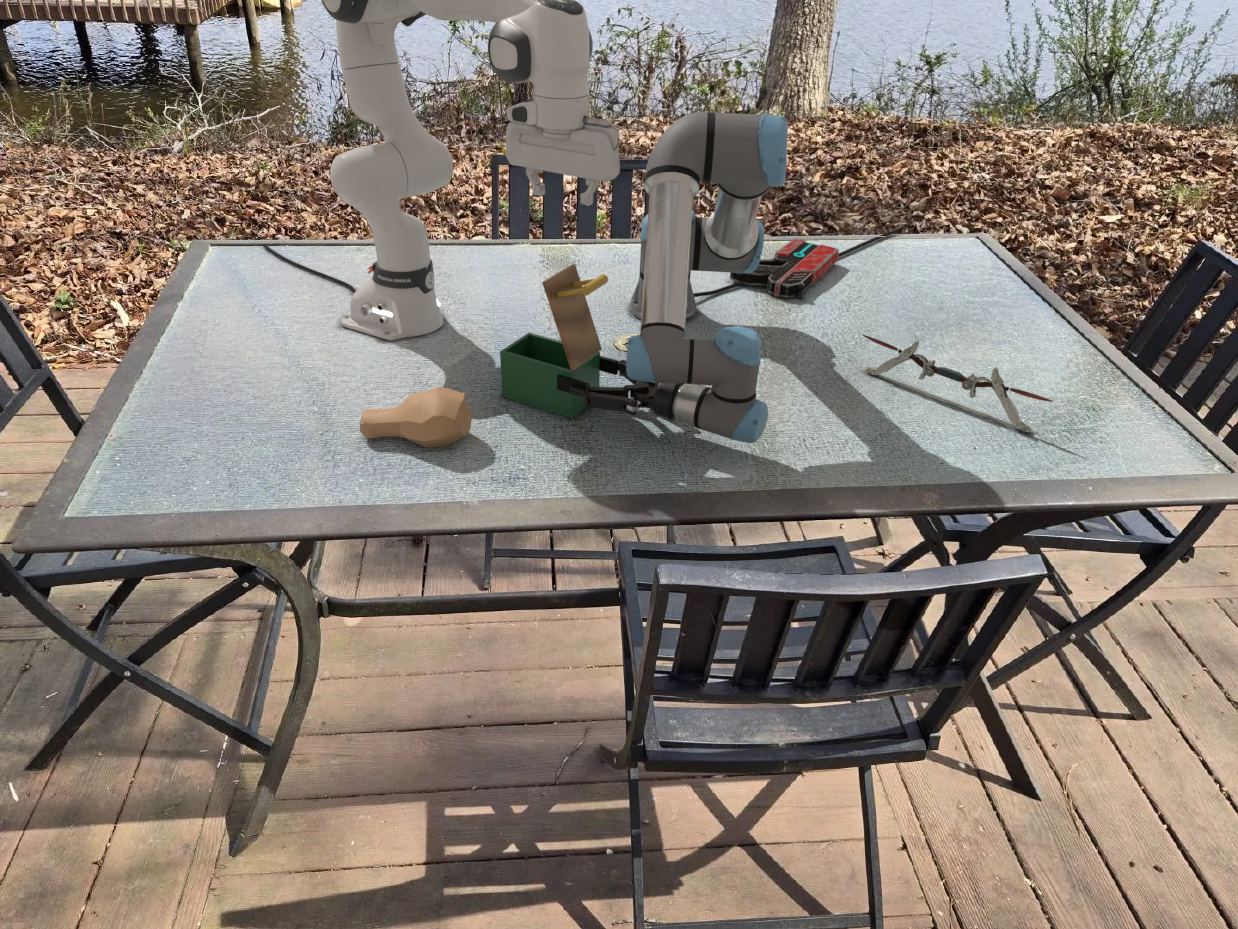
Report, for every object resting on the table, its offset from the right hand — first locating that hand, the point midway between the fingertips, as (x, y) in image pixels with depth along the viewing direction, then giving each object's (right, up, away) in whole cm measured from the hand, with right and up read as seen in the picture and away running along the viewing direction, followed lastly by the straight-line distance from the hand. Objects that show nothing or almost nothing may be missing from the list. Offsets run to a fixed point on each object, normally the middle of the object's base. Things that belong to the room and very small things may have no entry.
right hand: (573, 370), depth 164 cm
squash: (-27, -13, -8) cm, 31 cm away
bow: (+72, -5, +8) cm, 73 cm away
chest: (-5, -4, +6) cm, 9 cm away
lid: (0, +9, -6) cm, 11 cm away
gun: (+52, +31, +62) cm, 86 cm away
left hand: (-1, +27, -17) cm, 32 cm away
